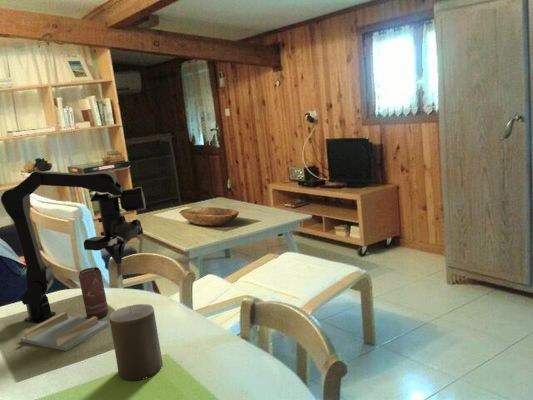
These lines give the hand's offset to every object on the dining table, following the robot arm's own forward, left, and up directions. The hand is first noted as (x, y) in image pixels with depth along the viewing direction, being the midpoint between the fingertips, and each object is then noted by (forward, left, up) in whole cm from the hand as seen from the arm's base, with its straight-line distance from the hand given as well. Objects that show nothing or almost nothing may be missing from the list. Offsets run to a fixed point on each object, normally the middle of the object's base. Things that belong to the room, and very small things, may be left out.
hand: (118, 264), depth 151 cm
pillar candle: (+33, -29, -13) cm, 46 cm away
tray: (-2, -21, -13) cm, 25 cm away
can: (-2, -9, -13) cm, 16 cm away
